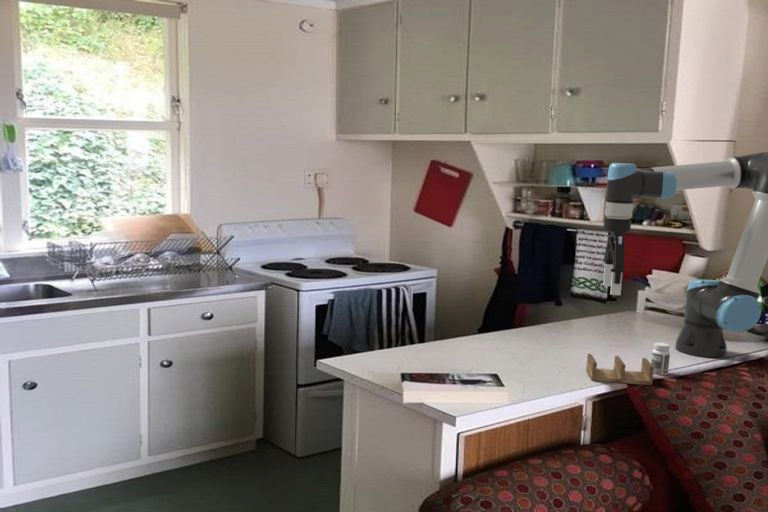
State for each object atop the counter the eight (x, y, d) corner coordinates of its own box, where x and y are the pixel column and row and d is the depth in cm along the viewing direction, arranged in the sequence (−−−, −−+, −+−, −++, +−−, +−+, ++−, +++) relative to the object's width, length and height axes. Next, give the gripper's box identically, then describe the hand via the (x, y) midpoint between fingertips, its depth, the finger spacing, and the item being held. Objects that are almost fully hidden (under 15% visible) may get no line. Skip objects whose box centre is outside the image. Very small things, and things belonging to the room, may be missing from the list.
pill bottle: (664, 370, 232) (667, 342, 230) (670, 375, 227) (673, 346, 226) (647, 370, 232) (650, 341, 230) (653, 375, 227) (656, 346, 226)
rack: (644, 375, 226) (646, 358, 225) (652, 385, 217) (654, 367, 216) (586, 371, 227) (587, 353, 226) (591, 380, 218) (593, 362, 217)
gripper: (598, 212, 244) (592, 281, 247) (611, 221, 220) (604, 297, 223) (623, 214, 243) (617, 283, 246) (639, 222, 219) (632, 299, 222)
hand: (611, 290), depth 235 cm, fingers open, 13 cm apart
